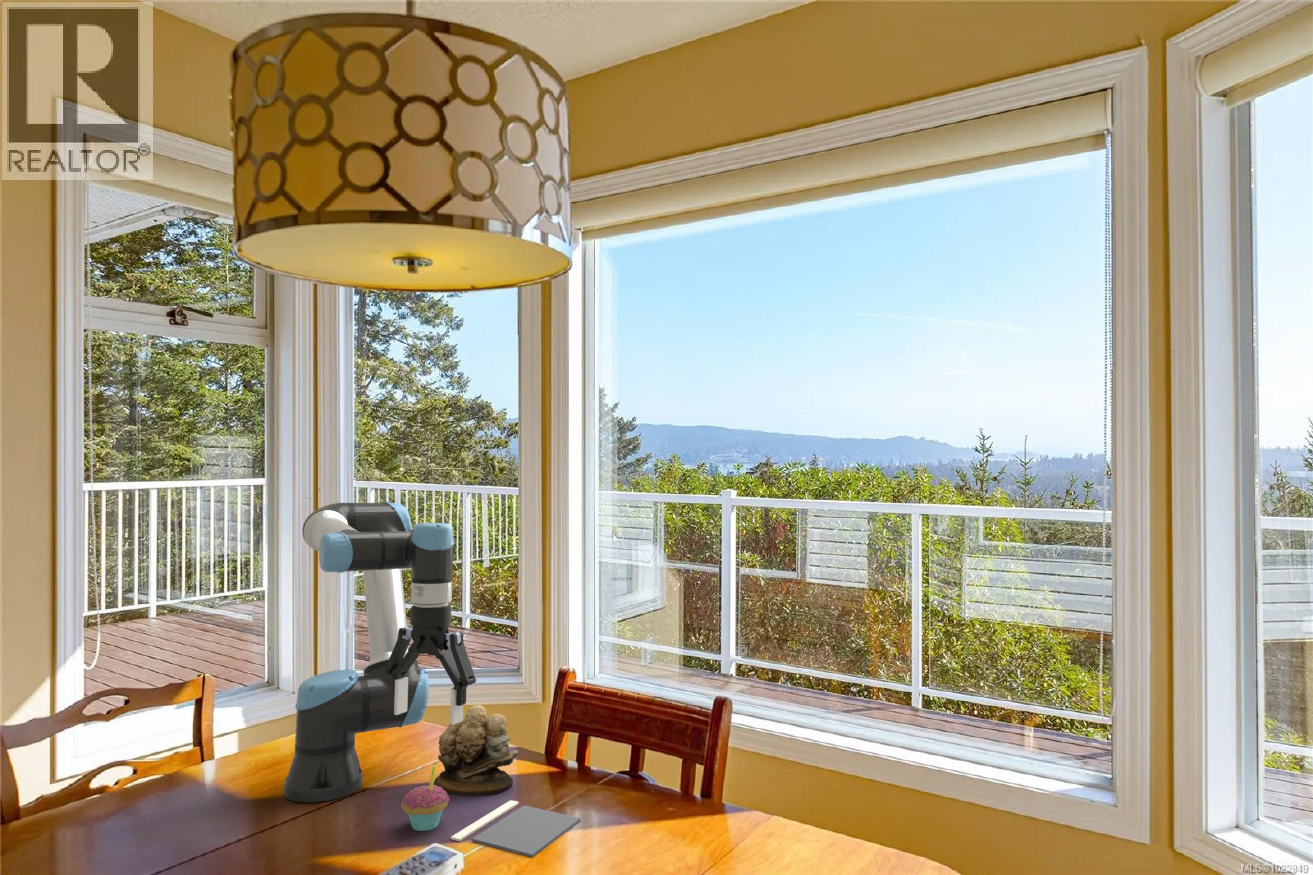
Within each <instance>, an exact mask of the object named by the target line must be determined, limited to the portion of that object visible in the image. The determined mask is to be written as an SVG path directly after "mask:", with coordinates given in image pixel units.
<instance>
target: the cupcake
mask: <svg viewBox="0 0 1313 875" xmlns="http://www.w3.org/2000/svg"><path fill="white" fill-rule="evenodd" d="M436 763H437V761H435V762H434V765H432V768H431V773H430V780H429V785H427V784H424V785H421V786H420V785H417V786H415V787H413V788H412V789H411V788H410V790H409V791H407V792H406V793H405V795H404V796H403V798H402V802H401V804H400V809H401V810H402V811H403V812H404V813H406V814H407V815H408V818H409V821H410V825H411V828H412V829H413V830H414V831H418V832H427V831H432V830H434V829H435V828H437V827H438V826H439V824H440V820H441V817H442V814H443V811H444V809H446V808H447V807H448V803H449V801H450V796H449V795H448V793H447V792H446V791H445V790H443V789H442V788H441V787H438V786H436V785H434V781H435V776H436V770H437V766H436Z"/></svg>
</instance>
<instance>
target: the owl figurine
mask: <svg viewBox="0 0 1313 875" xmlns="http://www.w3.org/2000/svg"><path fill="white" fill-rule="evenodd" d="M507 724H508V723H507V718H506V716H504V715H503V714H500V713H493V714H490V715H489V716H487V709H486V708H485V707H484V706H483V705H480V704H475V705H472V706H471V707H470V708H468V710H467V712H466V714H465V715H463V721H462V722H459V723H457V724H455V725H450V722H449V724H448V726H447V727H446V729H445V730H444V731H443V732H441V734H440V735H439V739H438V751H439V755H438V756H437V759H438V760H439V761H440V762H441V763H442V765H443V767H444V770H443V771H442V772H440V773H439V775H438V776H436V778H435V777H434V782H433V785H436V786H438V787H441V788H442V789H443V790H445V791H446V792H447V794H449V795H453V796H454V795H455V796H464V797H466V796H467V797H468V796H469V797H480V796H491V795H496V794H500V793H502V792H504V791H508V789H509V788H510V787H511V786H512V785H513V783H514V780H513V778H512V776H510V775H509V773H507V772H506V771H505V770H502V769H500V767H506V766H510V765H511V764H512V763H513V762H514V759H515V758H517V756H518V755H519V751H518V750H512V751H511V750H509V746H510V740H511V738H510V737H509V734H508V731H507V726H508V725H507Z"/></svg>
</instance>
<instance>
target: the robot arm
mask: <svg viewBox="0 0 1313 875" xmlns="http://www.w3.org/2000/svg"><path fill="white" fill-rule="evenodd" d="M301 531H302V538H303V540H304V541H305V543H306V545H308V546H309V548H311V549H312V550H314V551H317V552H318V559H319V566H320V569H321V571H322V572H325V573H341V574H342V573H345V572H347V573H348V572H359V571H360V572H362V573H363V582H364V585H363V586H364V596H365V608H366V609H365V612H366V624H367V638H368V653H369V662H368V663H367V664H366V665H365V666H364V668H363V675H362V676H361V675H359V674H358V673H357V671H356V670H355V669H350V668H349V669H337V670H335V669H334V670H331V671H325V672H322V673H318V674H316V675H313V676H310V677H309V678H307V679H305V680H304V681H303V682H302V683H301V684H300V685H299V686H298V689H297V695H296V696H297V698H296V703H295V709H296V713H295V714H296V716H295V717H296V718H295V720H296V722H295V737H294V738H295V742H294V754H293V758H292V761H291V764H290V767H289V771H288V774H287V776H286V778H285V780H284V783H283V796H284V798H286V799H288V800H289V801H293V802H298V803H321V802H327V801H332V800H333V801H334V800H336V799H340V798H344V797H347V796H349V795H351V794H353V793H355V792H357V791H358V790H359V789H361V787H362V785H363V777H364V776H363V770H362V768H361V764H360V760H359V757H358V754H357V750H356V734H361V733H367V732H373V731H380V730H386V729H394V728H402V727H404V726H405V727H406V726H411V725H414V724H418V723H419V722H420V721H421V720H422V719H423V717H424V716H425V713H426V711H427V705H428V701H429V694H430V677H429V674H428V670H427V669H425V668H419V661H418V658H419V656H420V655H429V656H435V658H436V659H438V660H439V662H440V663H441V666H442V667H443V668H444V670H445V672H446V674H447V675H448V678H449V679H450V681H451V683H452V684H453V687H451V688H450V707H449V708H450V709H449V710H450V712H449V713H450V714H449V723H450V725H455V724H457V723H459V722H462V721H463V716H464V705H466V704H467V687H468V686H470V685H473V684H476V682H477V678H476V675H475V673H474V670H473V666H472V664H471V661H470V658H469V656H468V653H467V652H468V651H467V649H466V646H465V643H464V633H463V632H462V631H458V632H457V631H456V632H450V629H449V628H450V624H451V623H452V606H451V604H450V603H451V602H452V600H453V566H454V565H453V563H454V562H453V561H454V559H453V558H454V545H455V540H454V539H455V538H454V528H453V525H452V524H450V523H446V522H445V523H444V522H420V523H416V524H415V525H414V526H413V525H412V520H411V515H410V513H409V511H408V509H407V508H406V507H405V506H404V505H403V504H402V503H399V502H398V503H397V502H389V501H383V502H335V503H334V502H333V503H330V504H327V505H324V506H322V507H319V508H318V509H317V508H316V509H315V510H314V511H312V512H311V513H310V514H309V515H308V516H307V517H306V519H305V521H304V522H303V525H302V529H301ZM405 569H406V570H407V569H408V570H409V569H411V590H410V592H411V593H410V595H411V596H410V603H411V604H413V605H411V606H410V612H409V613H410V617H409V618H410V619H409V623H410V624H409V625H408V623H407V613H406V603H405V602H406V601H405V593H404V592H405V591H404V586H403V585H404V583H403V571H402V570H405ZM411 641H412V643H411ZM410 643H411V644H410Z"/></svg>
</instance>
